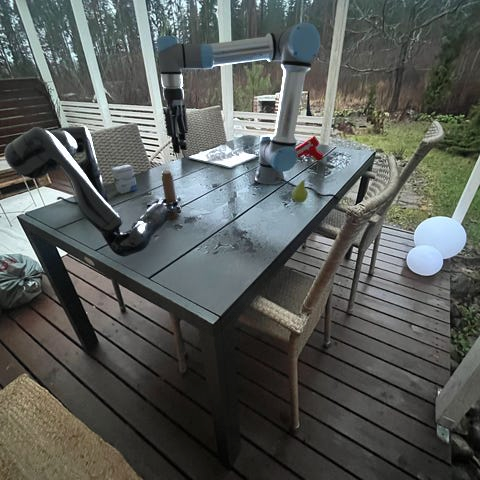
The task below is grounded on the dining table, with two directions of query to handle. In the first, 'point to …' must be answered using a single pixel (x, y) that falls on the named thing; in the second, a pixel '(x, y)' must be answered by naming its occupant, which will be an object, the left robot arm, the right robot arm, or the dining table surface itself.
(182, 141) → the lid
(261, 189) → the dining table surface
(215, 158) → the relief map
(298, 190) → the fruit
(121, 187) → the ink box
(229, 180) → the dining table surface
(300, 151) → the toy gun
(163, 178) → the jar
